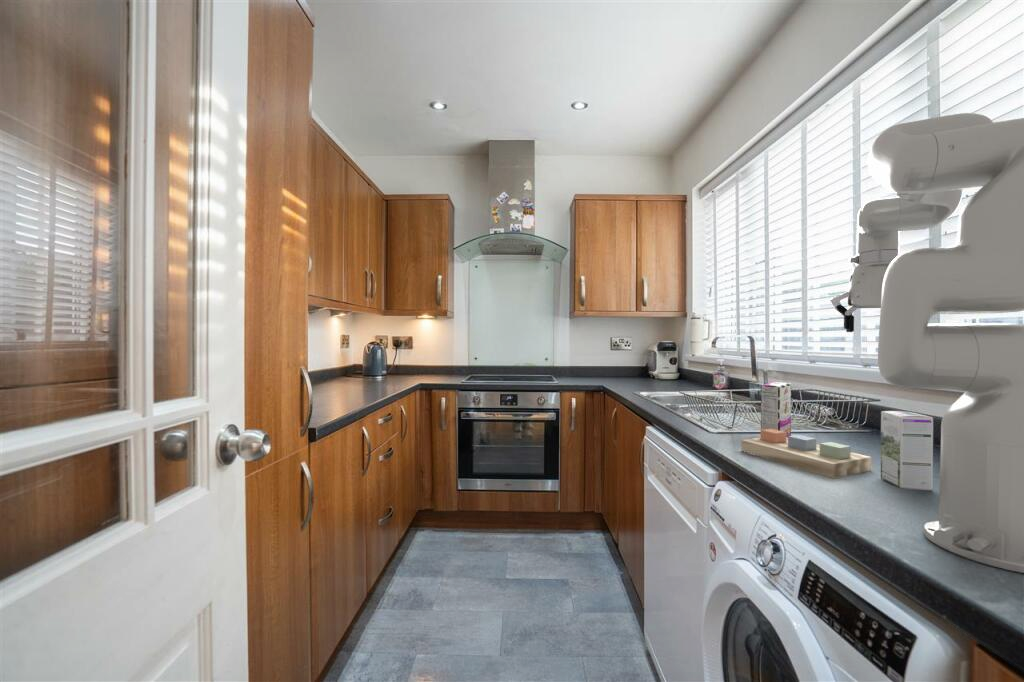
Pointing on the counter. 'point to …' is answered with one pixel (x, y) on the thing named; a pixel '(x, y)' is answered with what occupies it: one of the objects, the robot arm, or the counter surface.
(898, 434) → the syrup box
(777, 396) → the candy bar box
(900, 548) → the counter surface
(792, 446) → the slate grey button
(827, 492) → the counter surface
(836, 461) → the button panel
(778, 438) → the terracotta button
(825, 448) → the sage green button
